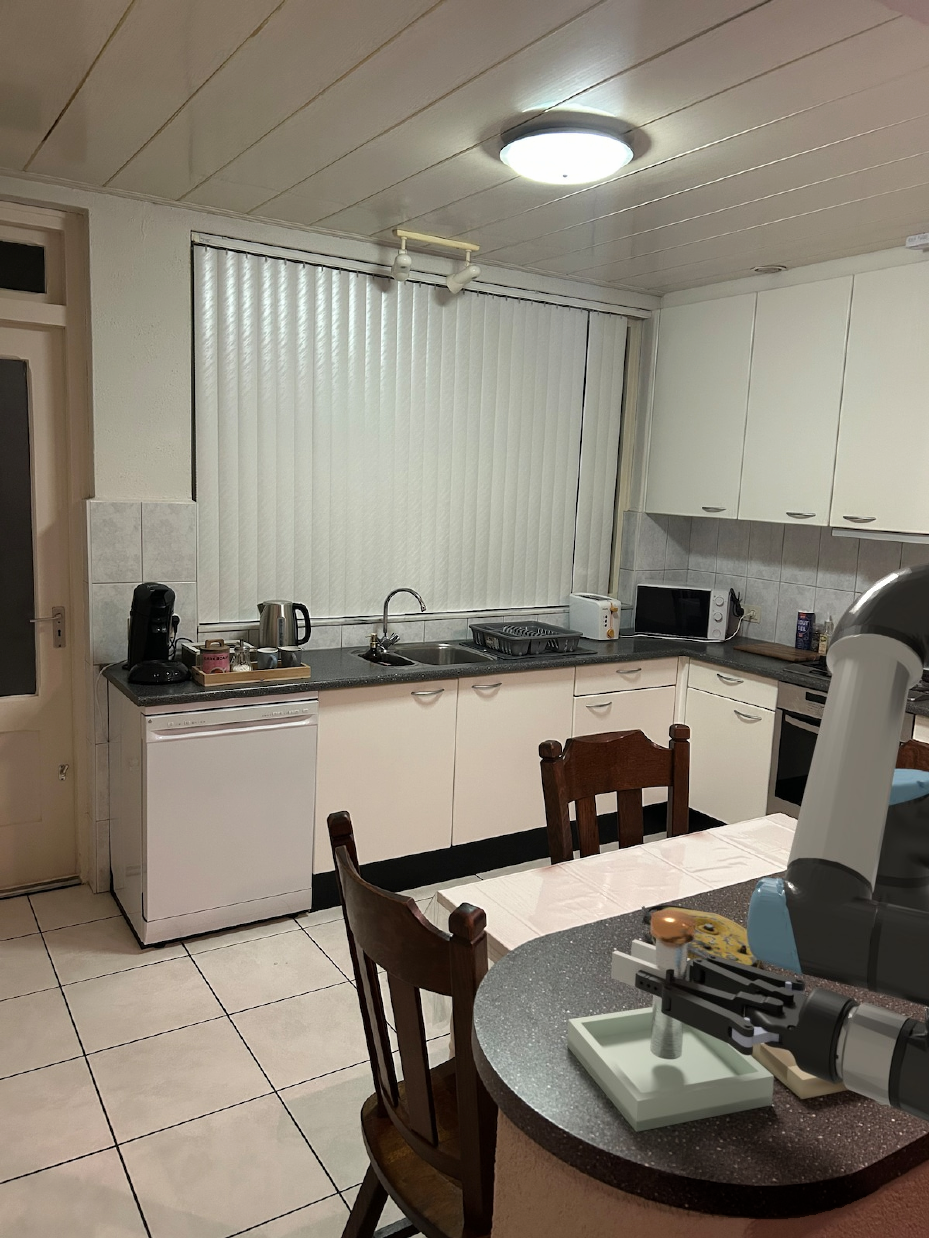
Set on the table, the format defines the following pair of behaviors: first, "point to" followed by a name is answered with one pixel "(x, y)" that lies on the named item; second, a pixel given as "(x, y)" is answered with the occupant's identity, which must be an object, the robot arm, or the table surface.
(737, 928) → the pulley block
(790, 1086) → the bracket
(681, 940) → the steel pin
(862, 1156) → the table surface
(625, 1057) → the pale green tray
